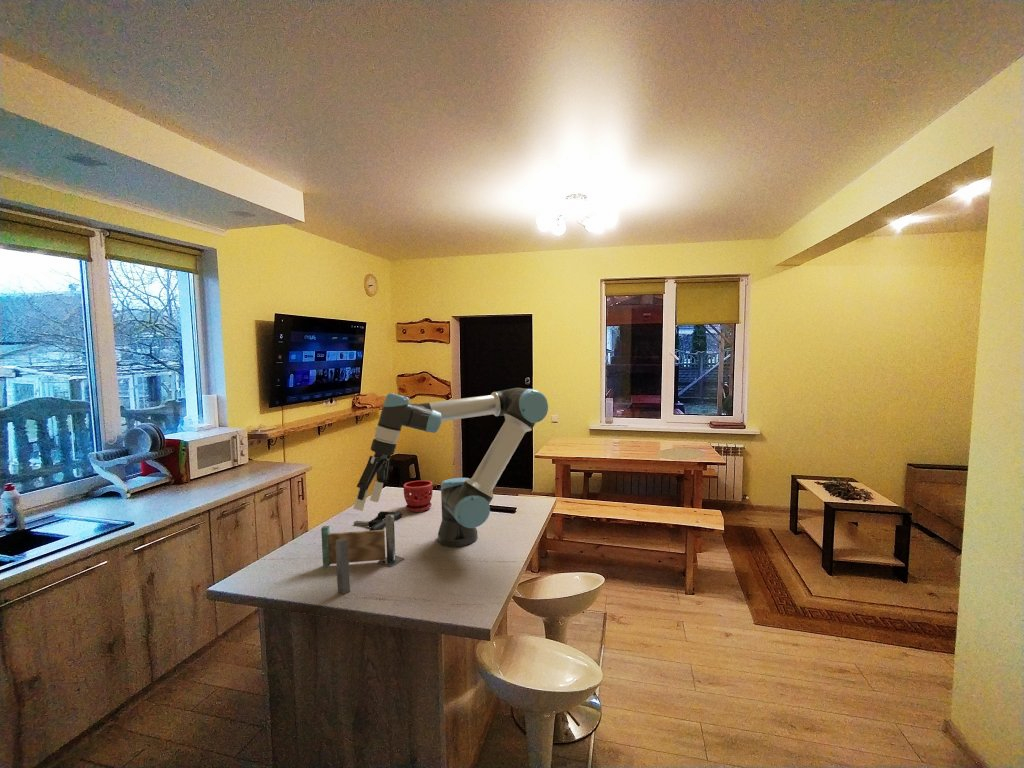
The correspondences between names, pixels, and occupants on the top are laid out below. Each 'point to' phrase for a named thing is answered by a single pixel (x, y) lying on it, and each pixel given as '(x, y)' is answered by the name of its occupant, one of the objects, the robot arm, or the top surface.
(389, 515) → the hinge post
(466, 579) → the top surface
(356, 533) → the wooden board
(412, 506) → the plant pot
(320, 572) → the top surface
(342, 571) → the post
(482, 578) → the top surface
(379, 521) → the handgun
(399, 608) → the top surface
